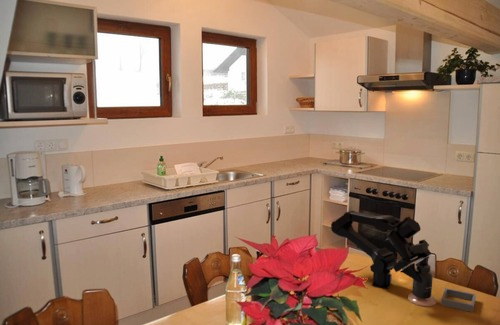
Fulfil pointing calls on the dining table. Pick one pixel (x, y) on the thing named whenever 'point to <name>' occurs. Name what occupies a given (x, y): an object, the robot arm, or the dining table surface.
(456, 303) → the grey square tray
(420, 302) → the coaster
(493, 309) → the dining table surface
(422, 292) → the supplement bottle
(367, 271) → the dining table surface
